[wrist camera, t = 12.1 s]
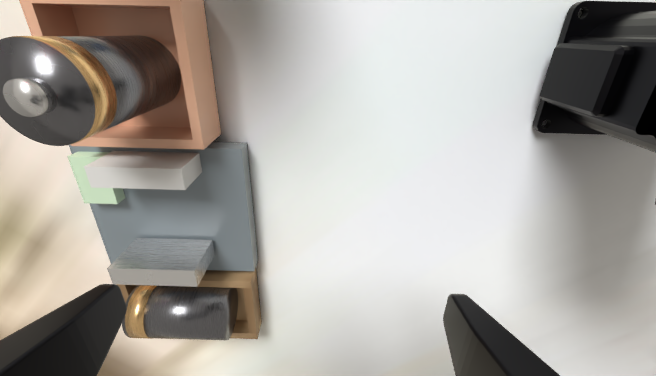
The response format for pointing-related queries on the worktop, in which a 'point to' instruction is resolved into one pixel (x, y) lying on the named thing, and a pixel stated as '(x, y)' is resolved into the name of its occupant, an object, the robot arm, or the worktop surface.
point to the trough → (247, 298)
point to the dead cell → (82, 83)
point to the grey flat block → (171, 197)
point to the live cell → (181, 312)
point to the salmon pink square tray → (170, 30)
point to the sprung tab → (162, 262)
